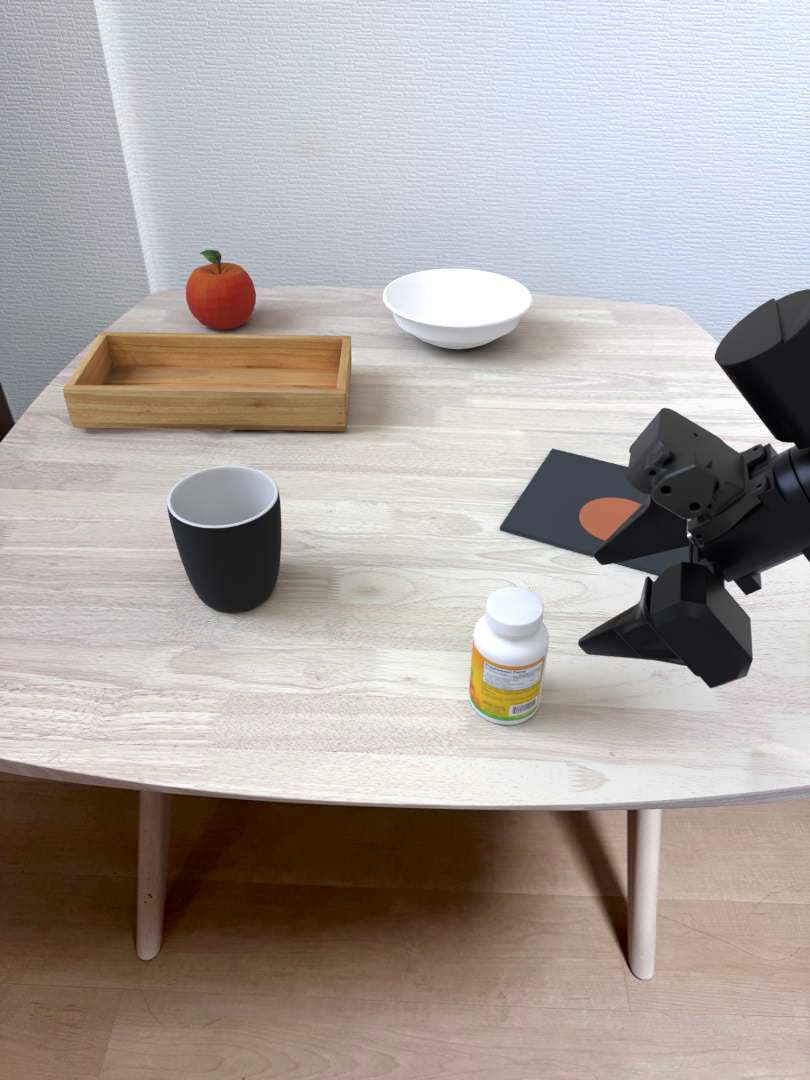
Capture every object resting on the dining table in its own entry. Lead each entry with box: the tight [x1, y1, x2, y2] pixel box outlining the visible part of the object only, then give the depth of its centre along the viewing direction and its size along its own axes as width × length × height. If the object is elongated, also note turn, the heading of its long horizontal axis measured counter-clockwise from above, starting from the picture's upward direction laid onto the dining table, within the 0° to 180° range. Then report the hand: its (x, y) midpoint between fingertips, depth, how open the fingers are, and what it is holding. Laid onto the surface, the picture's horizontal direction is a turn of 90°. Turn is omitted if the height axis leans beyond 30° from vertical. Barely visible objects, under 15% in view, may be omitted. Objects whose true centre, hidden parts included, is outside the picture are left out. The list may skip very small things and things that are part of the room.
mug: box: [166, 465, 282, 614], centre depth 72 cm, size 12×9×10 cm
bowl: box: [382, 267, 533, 350], centre depth 114 cm, size 20×20×6 cm
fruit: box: [185, 249, 257, 331], centre depth 116 cm, size 10×10×10 cm
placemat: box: [499, 448, 689, 577], centre depth 84 cm, size 20×16×1 cm
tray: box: [62, 331, 352, 432], centre depth 100 cm, size 31×15×6 cm, turn 91°
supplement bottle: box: [468, 586, 550, 726], centre depth 62 cm, size 5×5×10 cm
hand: (590, 600), depth 57 cm, fingers open, 9 cm apart
